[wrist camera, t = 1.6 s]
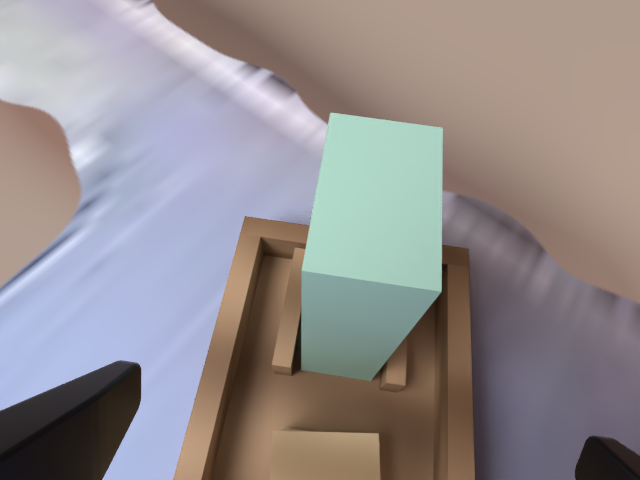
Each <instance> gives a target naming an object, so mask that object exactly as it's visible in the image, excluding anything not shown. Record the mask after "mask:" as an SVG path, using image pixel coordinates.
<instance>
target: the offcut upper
mask: <svg viewBox="0 0 640 480" xmlns="http://www.w3.org/2000/svg"><path fill="white" fill-rule="evenodd" d="M269 480H381V479H380V455H379V433H344V432H308V431H273V435H272V449H271V463H270V478H269Z"/></svg>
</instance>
